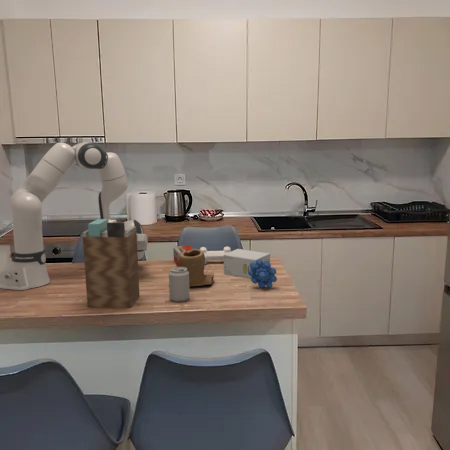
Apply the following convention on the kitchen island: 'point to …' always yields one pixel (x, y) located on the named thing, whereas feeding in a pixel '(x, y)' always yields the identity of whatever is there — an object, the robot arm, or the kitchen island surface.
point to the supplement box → (242, 262)
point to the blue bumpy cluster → (262, 273)
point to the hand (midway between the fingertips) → (118, 233)
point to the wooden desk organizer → (112, 267)
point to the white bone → (215, 254)
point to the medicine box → (179, 250)
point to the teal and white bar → (98, 227)
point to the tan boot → (195, 267)
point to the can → (179, 284)
